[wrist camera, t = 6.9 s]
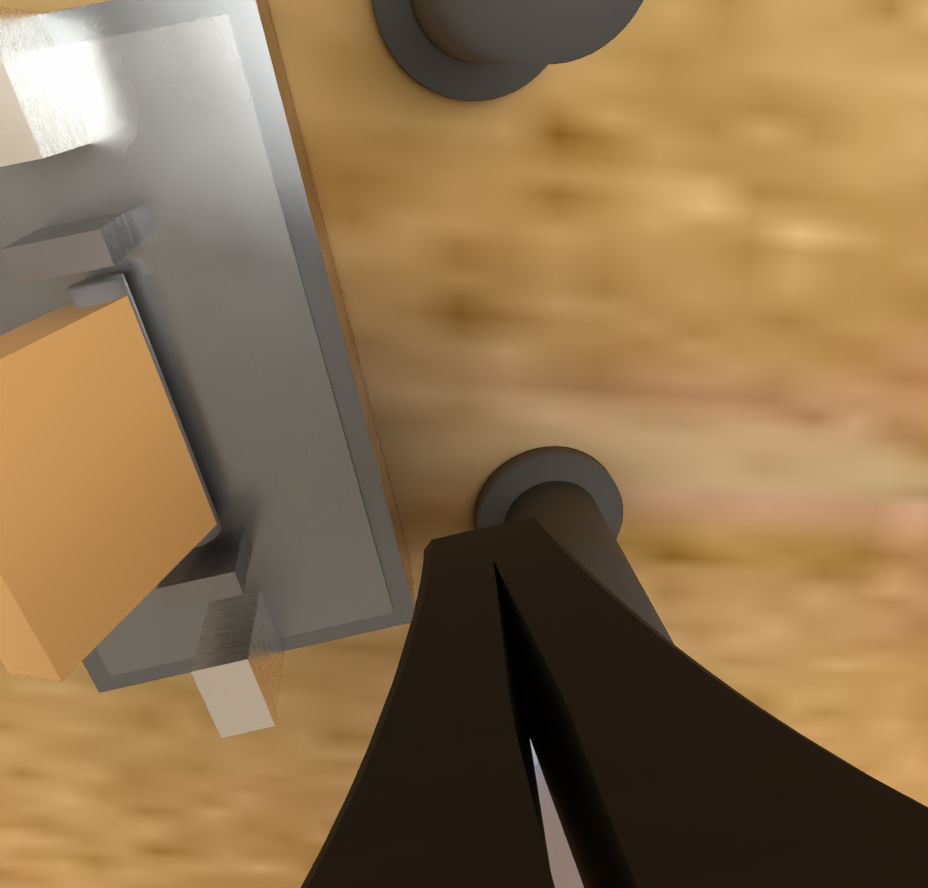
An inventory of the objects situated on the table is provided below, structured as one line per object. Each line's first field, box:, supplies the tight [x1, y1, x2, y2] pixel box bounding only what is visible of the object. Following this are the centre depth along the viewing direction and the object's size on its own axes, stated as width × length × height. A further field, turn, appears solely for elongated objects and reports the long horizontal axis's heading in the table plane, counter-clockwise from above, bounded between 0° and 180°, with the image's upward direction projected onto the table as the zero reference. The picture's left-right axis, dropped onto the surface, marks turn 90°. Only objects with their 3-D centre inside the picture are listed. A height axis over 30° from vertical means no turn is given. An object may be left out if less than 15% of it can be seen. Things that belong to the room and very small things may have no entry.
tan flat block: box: [0, 273, 222, 681], centre depth 13 cm, size 6×1×5 cm
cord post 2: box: [475, 447, 674, 644], centre depth 18 cm, size 4×4×7 cm
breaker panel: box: [0, 0, 415, 738], centre depth 16 cm, size 14×8×5 cm, turn 10°
